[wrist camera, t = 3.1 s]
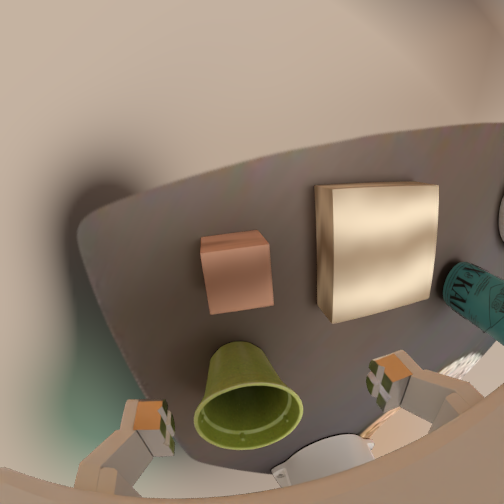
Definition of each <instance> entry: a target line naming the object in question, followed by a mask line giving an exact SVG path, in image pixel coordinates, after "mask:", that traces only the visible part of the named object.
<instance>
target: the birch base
mask: <svg viewBox="0 0 504 504" xmlns="http://www.w3.org/2000/svg"><path fill="white" fill-rule="evenodd" d="M314 192H315V212H316V240H317V305H318V306H319V308H320V309H321V310H322V312H323V313H324V314H325V315H326V317H327V318H328V319H329V321H330V322H331V323H332V324H334V323H339V322H343V321H347V320H351V319H355V318H359V317H363V316H367V315H371V314H375V313H379V312H383V311H386V310H390V309H394V308H397V307H401V306H404V305H408V304H411V303H414V302H418V301H421V300H424V299H427V298H429V295H430V289H431V282H432V275H433V268H434V260H435V250H436V240H437V226H438V205H439V185H433V184H427V183H421V182H414V181H411V182H370V183H347V184H329V185H314Z"/></svg>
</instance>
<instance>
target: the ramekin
mask: <svg viewBox="0 0 504 504" xmlns="http://www.w3.org/2000/svg"><path fill="white" fill-rule="evenodd" d="M499 231H500V235H501V237H502V240H503V241H504V196H503V198H502V201H501V205H500V210H499Z"/></svg>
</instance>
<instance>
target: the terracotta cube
mask: <svg viewBox="0 0 504 504" xmlns="http://www.w3.org/2000/svg"><path fill="white" fill-rule="evenodd" d="M200 255H201V262H202V268H203V274H204V280H205V286H206V292H207V298H208V304H209V310H210V315H212V314H219V313H227V312H233V311H240V310H247V309H253V308H260V307H266V306H272V305H274V302H273V288H272V274H271V261H270V248H269V243H268V242H267V241H266V240H265V238H264V237H263V236H262V235H261V233H260V232H259V231H258V230H252V231H244V232H236V233H228V234H221V235H213V236H206V237H201V248H200Z"/></svg>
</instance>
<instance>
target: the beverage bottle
mask: <svg viewBox="0 0 504 504" xmlns="http://www.w3.org/2000/svg"><path fill="white" fill-rule="evenodd" d="M478 267H479V266H476V265H474V264H470V263H467V262H460V263H458V264H457V265H455V266H454V267H453V268H452V269H451V271H450V272H449V274H448V276H447V278H446V280H445V283H444V287H443V298H444V301H445V302H446V304H447V305H448V306H450V307H451V309H452V308H453V309H454V311H455V312H456V311H457V312H458V314H459V315H460V314H461V316H462V317H463V316H464V317H465V319H468V320H469V321H470V322H472V324H474V325H476V326H477V327H478V328H480V329H481V330H483V333H485V332H486V333H487V334H489V335H490V336H492V337H493V338H494V339H496V340H497V341H498V342H500V343H501V344H502V345H504V281H503V280H504V279H503V280H501V279H499V278H498V277H496V276H493V275H491V274H490V273H488V272H489V271H488V272H486V271H487V270H486V271H484V269H483V270H482V268H481V267H479V268H478ZM480 268H481V269H480ZM453 309H452V310H453ZM457 312H456V313H457ZM464 317H463V318H464Z"/></svg>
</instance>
